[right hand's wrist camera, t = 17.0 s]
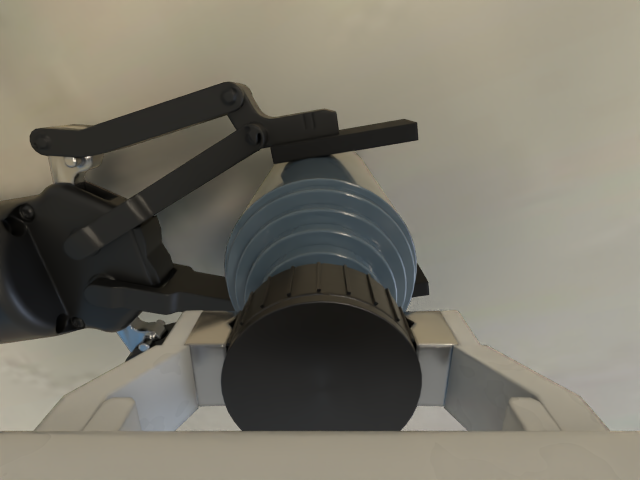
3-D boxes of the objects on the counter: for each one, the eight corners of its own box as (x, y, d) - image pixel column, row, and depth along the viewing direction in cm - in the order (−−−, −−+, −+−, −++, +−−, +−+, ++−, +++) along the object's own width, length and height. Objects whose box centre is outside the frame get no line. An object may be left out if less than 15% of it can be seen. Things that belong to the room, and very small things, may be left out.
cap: (412, 391, 11) (431, 450, 9) (257, 412, 11) (245, 473, 9) (398, 246, 9) (417, 283, 7) (216, 275, 10) (191, 317, 8)
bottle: (286, 254, 27) (235, 502, 10) (251, 157, 24) (113, 285, 8) (383, 226, 26) (492, 448, 10) (357, 124, 24) (443, 190, 7)
